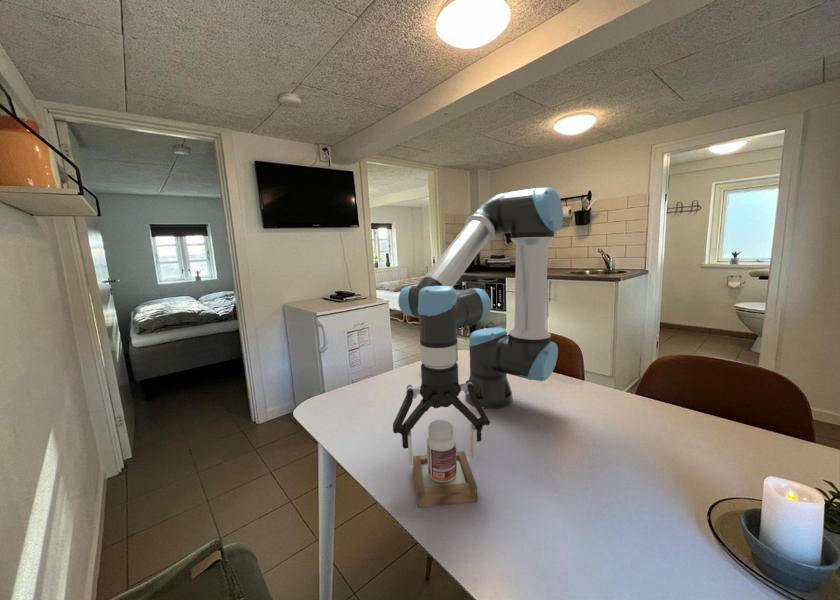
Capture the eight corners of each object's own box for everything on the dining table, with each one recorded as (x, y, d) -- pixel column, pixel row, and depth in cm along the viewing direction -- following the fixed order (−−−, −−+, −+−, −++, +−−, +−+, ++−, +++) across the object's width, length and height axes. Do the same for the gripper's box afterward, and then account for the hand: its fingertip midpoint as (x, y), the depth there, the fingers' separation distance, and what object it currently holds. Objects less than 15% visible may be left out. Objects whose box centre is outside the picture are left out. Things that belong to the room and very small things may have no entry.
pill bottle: (462, 476, 73) (461, 427, 72) (439, 488, 70) (437, 437, 68) (445, 461, 79) (443, 415, 77) (422, 472, 75) (420, 424, 73)
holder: (464, 463, 81) (464, 451, 80) (477, 501, 69) (477, 487, 69) (413, 468, 80) (413, 456, 79) (418, 507, 68) (417, 493, 68)
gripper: (493, 352, 75) (494, 442, 78) (378, 360, 73) (384, 452, 76) (505, 364, 67) (505, 463, 71) (376, 374, 65) (383, 474, 69)
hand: (442, 457), depth 74 cm, fingers open, 13 cm apart
